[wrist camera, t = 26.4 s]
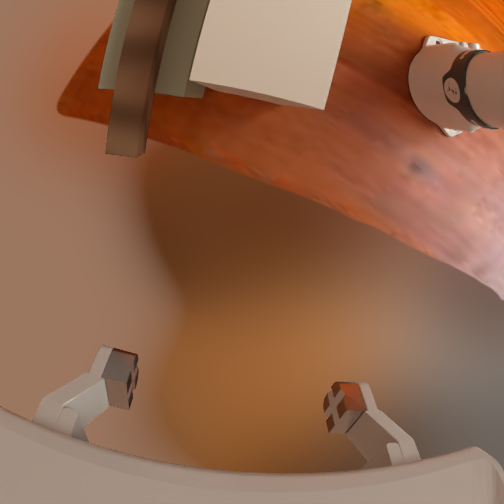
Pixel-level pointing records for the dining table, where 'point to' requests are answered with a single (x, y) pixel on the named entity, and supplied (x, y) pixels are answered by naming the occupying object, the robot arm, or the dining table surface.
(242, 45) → the white pedestal
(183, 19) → the sage base
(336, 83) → the dining table surface
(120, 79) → the walnut bar
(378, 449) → the robot arm
